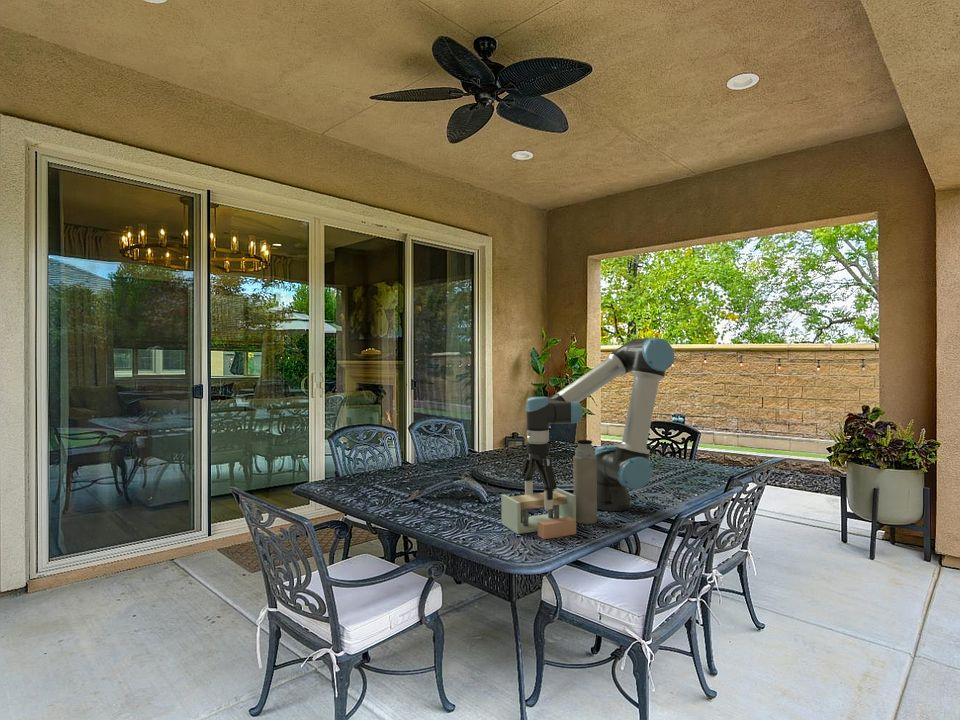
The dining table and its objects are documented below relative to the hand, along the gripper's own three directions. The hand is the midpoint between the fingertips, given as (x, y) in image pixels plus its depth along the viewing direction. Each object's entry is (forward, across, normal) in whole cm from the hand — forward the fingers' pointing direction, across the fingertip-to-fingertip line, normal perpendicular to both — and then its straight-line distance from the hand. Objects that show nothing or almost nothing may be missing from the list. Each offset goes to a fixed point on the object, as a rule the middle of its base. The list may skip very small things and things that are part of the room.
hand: (538, 504), depth 186 cm
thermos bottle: (+7, +3, +17) cm, 19 cm away
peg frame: (+7, 0, 0) cm, 7 cm away
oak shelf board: (0, 0, 0) cm, 0 cm away
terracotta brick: (+7, +12, 0) cm, 14 cm away
